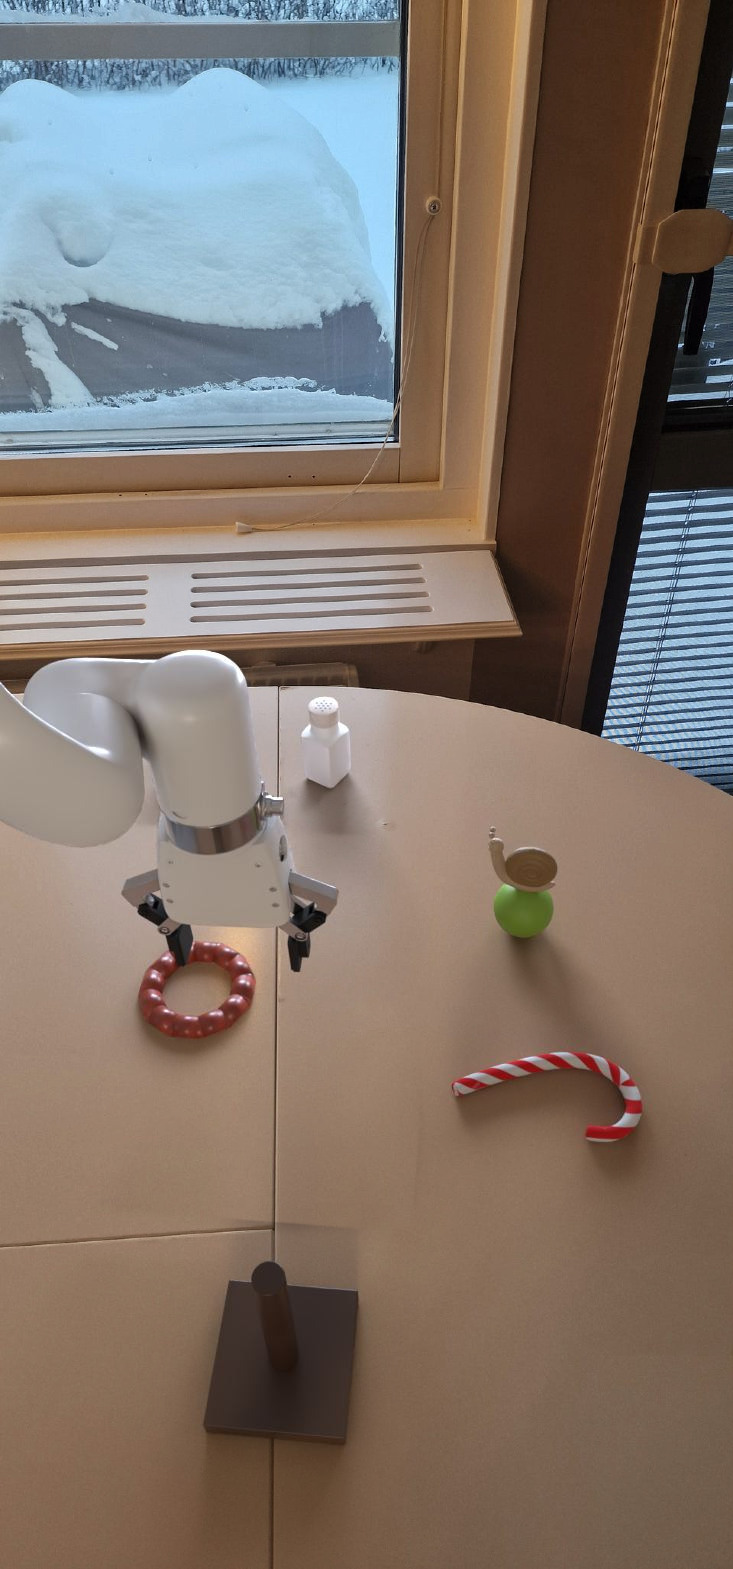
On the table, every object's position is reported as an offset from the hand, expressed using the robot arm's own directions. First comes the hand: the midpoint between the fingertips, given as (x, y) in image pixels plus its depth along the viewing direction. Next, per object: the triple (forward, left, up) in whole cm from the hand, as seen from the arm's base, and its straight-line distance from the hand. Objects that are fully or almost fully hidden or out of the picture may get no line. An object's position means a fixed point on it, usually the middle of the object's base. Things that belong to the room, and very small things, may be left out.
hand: (241, 955), depth 87 cm
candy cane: (+26, -8, -6) cm, 28 cm away
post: (+8, -29, -6) cm, 31 cm away
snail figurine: (+24, +10, -6) cm, 26 cm away
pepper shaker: (+4, +30, -6) cm, 31 cm away
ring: (-4, 0, -5) cm, 7 cm away
